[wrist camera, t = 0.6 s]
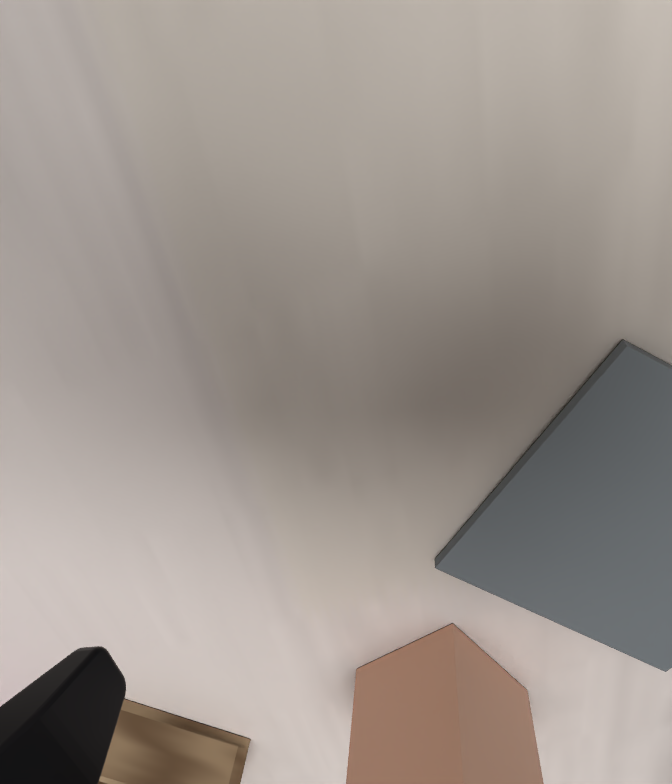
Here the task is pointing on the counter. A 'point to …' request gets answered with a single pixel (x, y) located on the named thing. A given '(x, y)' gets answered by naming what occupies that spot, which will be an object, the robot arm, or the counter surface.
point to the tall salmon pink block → (441, 718)
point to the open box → (171, 750)
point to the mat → (588, 515)
